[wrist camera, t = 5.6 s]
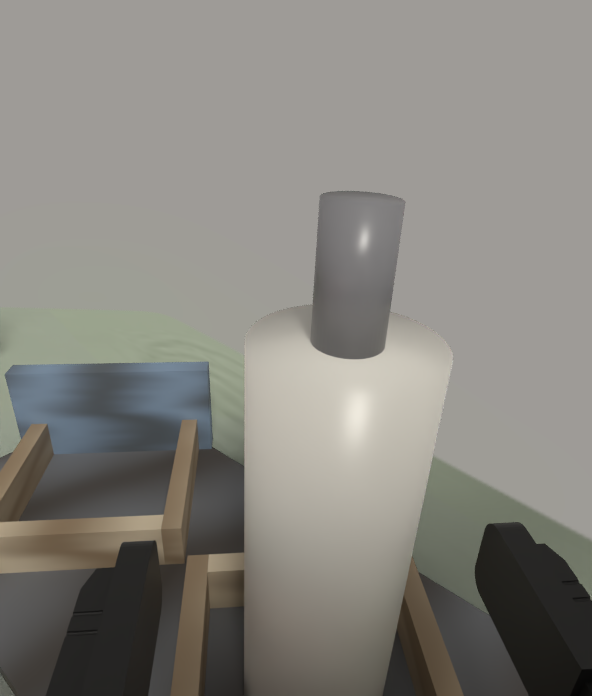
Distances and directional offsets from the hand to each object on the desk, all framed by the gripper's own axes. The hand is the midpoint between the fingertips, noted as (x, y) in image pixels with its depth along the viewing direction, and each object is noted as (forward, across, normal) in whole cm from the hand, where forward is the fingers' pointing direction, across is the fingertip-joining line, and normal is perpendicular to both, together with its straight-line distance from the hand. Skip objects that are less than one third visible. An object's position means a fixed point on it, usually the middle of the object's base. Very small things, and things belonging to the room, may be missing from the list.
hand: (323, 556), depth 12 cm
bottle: (+1, 0, +8) cm, 8 cm away
